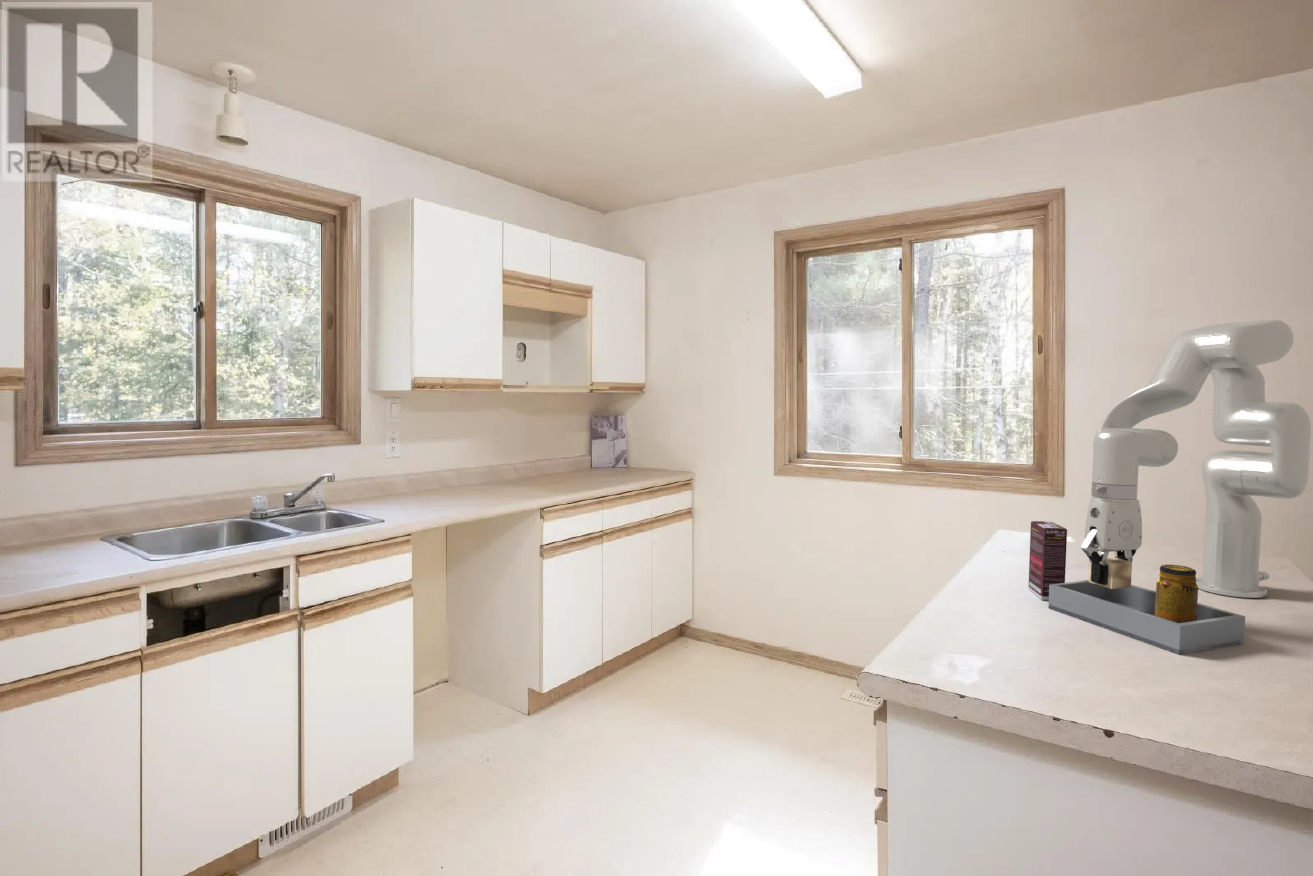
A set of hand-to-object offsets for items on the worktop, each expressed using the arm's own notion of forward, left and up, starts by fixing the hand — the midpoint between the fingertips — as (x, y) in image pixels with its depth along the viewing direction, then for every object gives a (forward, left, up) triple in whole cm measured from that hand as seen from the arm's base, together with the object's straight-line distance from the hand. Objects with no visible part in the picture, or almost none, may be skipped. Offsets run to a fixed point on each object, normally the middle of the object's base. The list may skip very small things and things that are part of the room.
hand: (1109, 581), depth 134 cm
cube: (0, 0, -1) cm, 1 cm away
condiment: (-1, +13, -6) cm, 15 cm away
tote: (0, +6, -7) cm, 9 cm away
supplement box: (+1, -14, -7) cm, 16 cm away
